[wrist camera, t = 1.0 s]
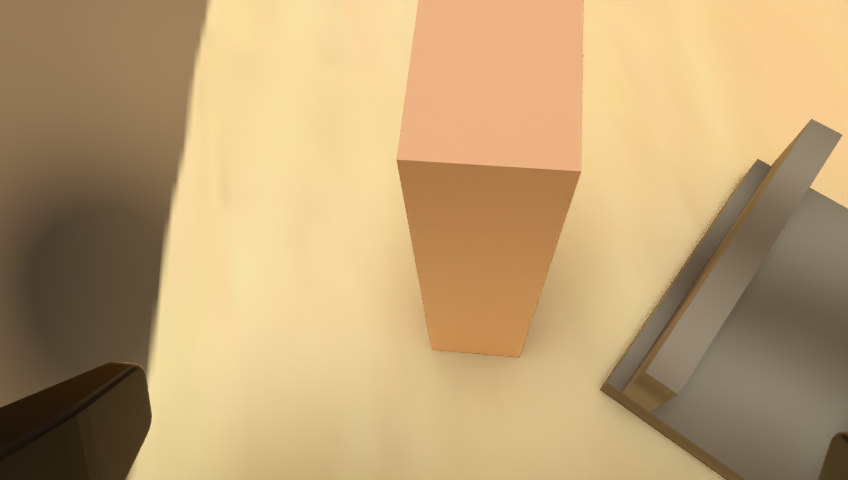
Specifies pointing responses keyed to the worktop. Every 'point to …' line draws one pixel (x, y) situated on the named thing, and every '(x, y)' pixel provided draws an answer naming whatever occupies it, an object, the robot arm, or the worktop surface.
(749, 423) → the rack
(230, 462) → the worktop surface
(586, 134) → the worktop surface
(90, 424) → the robot arm
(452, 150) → the clay bar
